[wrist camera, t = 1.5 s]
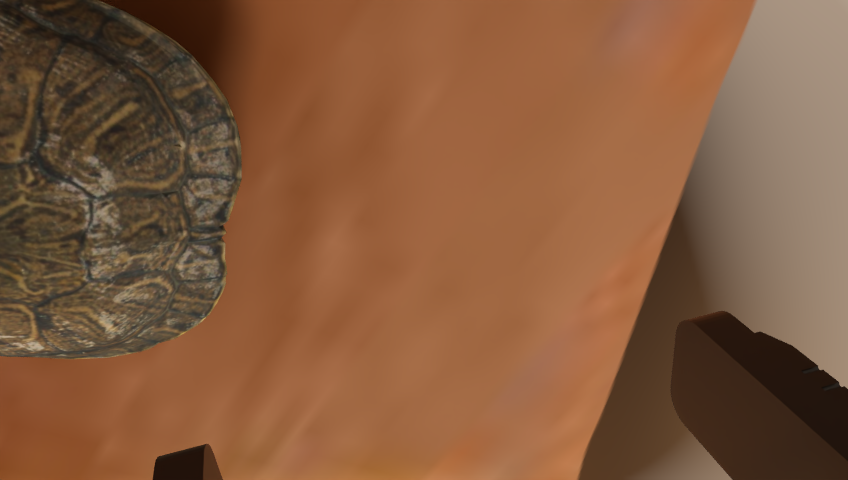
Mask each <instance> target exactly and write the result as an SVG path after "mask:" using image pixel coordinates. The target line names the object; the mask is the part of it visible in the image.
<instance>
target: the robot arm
mask: <svg viewBox="0 0 848 480" xmlns="http://www.w3.org/2000/svg"><path fill="white" fill-rule="evenodd" d="M671 397H672V401H673V405H674V408H675V410H676V412H677V414H678V416H679V418H680V419H681V421H682V422H683V424H684V425H685V426H686V427H687V428H688V430H689V431H690V432H691V433H692V434H693V435H694V436H695V437H696V439H697V440H698V441H699V442H700V443H701V444H702V445H703V447H704V448H705V449H706V450H707V451H708V452H709V453H710V455H711V456H712V457H713V458H714V459H715V460H716V461H717V463H718V464H719V465H720V466H721V467H722V468H723V469H724V470H725V472H726V473H727V474H728V475H729V476H730V477H731V478H732V479H733V480H848V389H847V388H846V387H841V386H840V385H839V382H838V381H837V380H836V379H834V378H833V377H832V376H830V375H829V374H828V373H827V372H825V371H824V370H819V369H818V365H816V364H815V363H814V362H812V361H811V360H810V359H809V358H807V357H806V356H805V355H804V354H802V353H801V352H800V351H798V350H797V349H796V348H794V347H793V346H792V345H789V344H787V343H785V342H783V341H780V340H778V339H776V338H773V337H771V336H769V335H767V334H765V333H762V332H757V333H754V332H752V331H751V330H750V329H749V328H748V327H746V326H745V325H744V324H743V323H741V322H740V321H739V320H738V319H736V318H735V317H734V316H733V315H731V314H730V313H728V312H725V311H718V312H715V313H711V314H707V315H703V316H699V317H695V318H692V319H688V320H684V321H682V322H680V323H679V325H678V327H677V330H676V338H675V348H674V359H673V368H672V379H671ZM153 480H223V479H222V476H221V473H220V471H219V468H218V465H217V462H216V459H215V456H214V454H213V451H212V449H211V447H210V445H209V444H205V445H201V446H197V447H193V448H189V449H185V450H182V451H178V452H174V453H170V454H166V455H163V456H159V457H157V459H156V462H155V467H154V474H153Z"/></svg>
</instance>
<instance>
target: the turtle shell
mask: <svg viewBox="0 0 848 480" xmlns="http://www.w3.org/2000/svg"><path fill="white" fill-rule="evenodd" d="M241 168H242V166H241V144H240V136H239V132H238V128H237V124H236V121H235V119H234V116H233V114H232V111H231V109H230V106H229V104H228V101H227V99H226V98H225V96H224V95H223V93H222V92H221V91H220V89H219V88H218V86H217V85H216V83H215V82H214V81H213V79H212V78H211V77H210V76H209V75H208V73H207V72H206V71H205V70H204V69H203V67H202V66H201V65H200V64H199V63H198V62H197V60H196V59H195V58H194V57H193V56H192V55H191V54H190V53H189V52H188V51H187V50H185V49H184V48H183V47H182V46H181V45H180V44H178V43H177V42H176V41H174V40H173V39H171V38H170V37H169V36H167V35H166V34H164V33H162V32H161V31H159V30H157V29H156V28H154V27H153V26H151V25H149V24H148V23H146V22H144V21H143V20H141V19H139V18H137V17H135V16H133V15H131V14H129V13H127V12H125V11H123V10H120V9H118V8H115V7H113V6H110V5H108V4H106V3H103V2H101V1H98V0H0V356H7V357H43V358H57V359H85V358H109V357H115V356H121V355H126V354H132V353H137V352H141V351H144V350H147V349H150V348H152V347H154V346H155V345H156V344H158V343H161V342H165V341H168V340H172V339H175V338H177V337H179V336H180V335H182V334H184V333H185V332H187V331H189V330H190V329H192V328H194V327H195V326H197V325H198V324H199V323H201V322H202V321H203V320H204V319H205V318H206V317H207V316H208V315H209V314H210V312H211V311H212V309H213V308H214V306H215V305H216V303H217V302H218V300H219V298H220V296H221V294H222V292H223V290H224V287H225V285H226V275H227V267H226V262H225V242H224V241H223V239H222V236H223V235H224V234H226V231H225V228H224V226H223V225H224V224H225V223H226V222H227V221H228V220H229V217H230V214H231V211H232V208H233V205H234V202H235V199H236V196H237V192H238V189H239V186H240V183H241Z"/></svg>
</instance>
